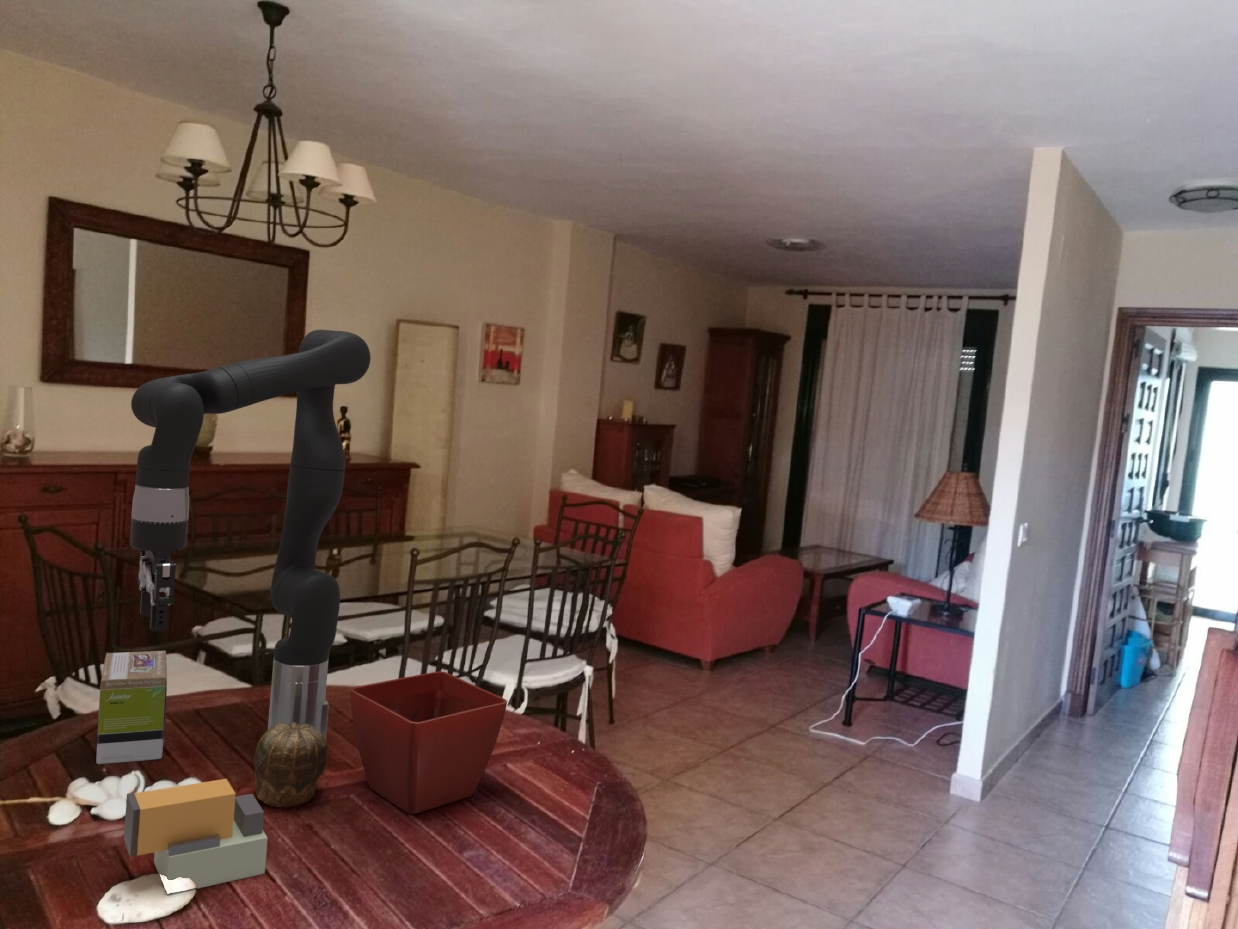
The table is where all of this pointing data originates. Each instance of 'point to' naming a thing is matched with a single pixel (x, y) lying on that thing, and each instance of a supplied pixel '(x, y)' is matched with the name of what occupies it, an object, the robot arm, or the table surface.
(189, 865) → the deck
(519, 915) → the table surface
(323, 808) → the table surface
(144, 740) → the tea box
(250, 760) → the table surface
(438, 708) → the plant pot
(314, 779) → the shell
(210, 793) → the orange rectangular block
